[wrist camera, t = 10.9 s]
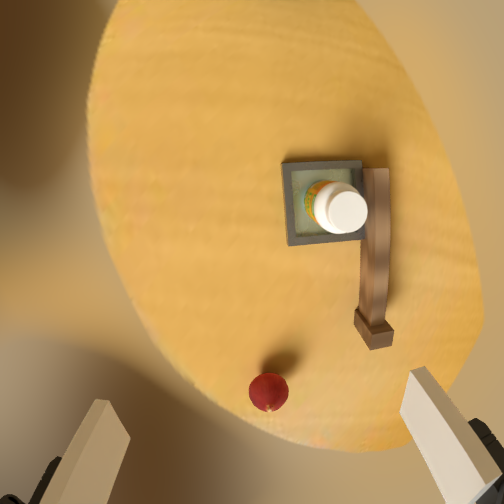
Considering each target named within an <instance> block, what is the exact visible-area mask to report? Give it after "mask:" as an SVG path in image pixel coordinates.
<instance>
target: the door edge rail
mask: <svg viewBox="0 0 504 504" xmlns="http://www.w3.org/2000/svg"><path fill="white" fill-rule="evenodd" d="M362 171H363V188H364V200H365V202H366V204H367V209H368V213H367V218H366V221H365V239H362V240H361V263H360V294H359V310H355V315H354V325H355V327H356V329H357V330H358V332H359V333H360V335H361V337H362V338H363V340H364V341H365V343H366V345H367V346H368V348H369V349H370V350H374V349H379V348H384V347H388V346H392V341H393V335H394V330H393V328H392V327H391V326H390V325H389V324H388V322H387V321H386V320H385V312H386V303H387V291H388V278H389V260H390V181H389V168H362Z"/></svg>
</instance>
